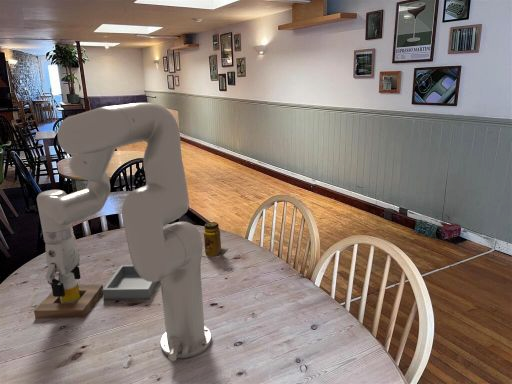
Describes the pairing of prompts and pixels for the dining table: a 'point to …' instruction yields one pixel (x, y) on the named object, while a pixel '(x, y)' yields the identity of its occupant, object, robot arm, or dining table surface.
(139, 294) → the tray
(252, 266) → the dining table surface
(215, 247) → the condiment
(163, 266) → the robot arm
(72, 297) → the supplement bottle
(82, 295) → the socket holder
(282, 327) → the dining table surface
